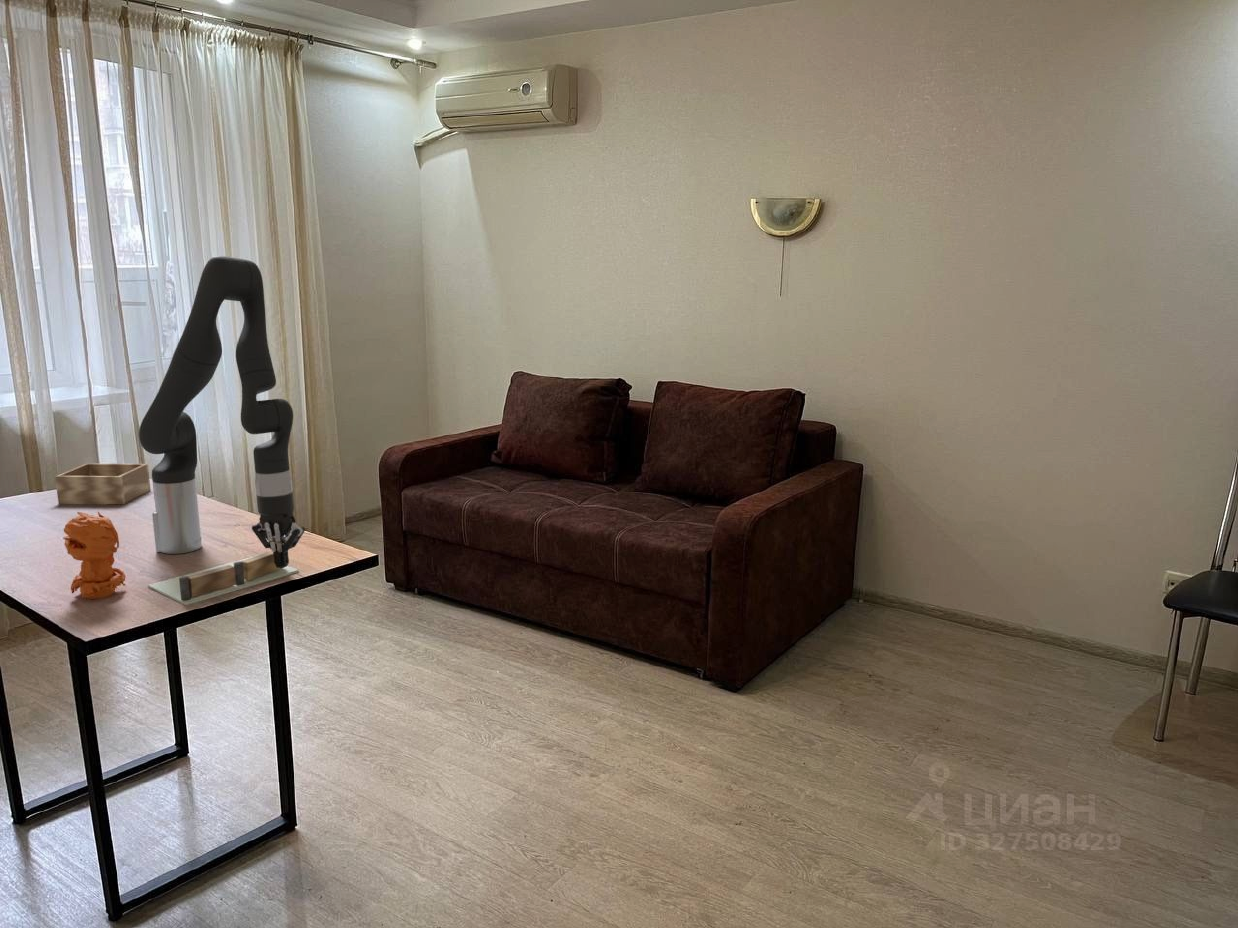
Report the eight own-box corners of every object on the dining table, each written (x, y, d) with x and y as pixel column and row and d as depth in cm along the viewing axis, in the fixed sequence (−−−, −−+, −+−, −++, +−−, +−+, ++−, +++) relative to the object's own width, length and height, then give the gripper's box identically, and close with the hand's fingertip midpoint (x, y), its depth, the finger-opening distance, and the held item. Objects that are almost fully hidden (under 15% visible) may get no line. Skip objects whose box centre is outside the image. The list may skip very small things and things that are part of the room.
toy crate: (58, 504, 259) (54, 476, 258) (89, 489, 275) (86, 463, 273) (123, 504, 260) (120, 477, 258) (150, 490, 275) (147, 463, 273)
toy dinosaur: (83, 584, 199) (73, 504, 195) (136, 583, 200) (126, 503, 196) (57, 604, 188) (45, 519, 184) (113, 603, 189) (102, 518, 185)
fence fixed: (184, 603, 189) (182, 579, 188) (179, 601, 190) (177, 577, 189) (246, 585, 200) (244, 562, 198) (241, 583, 201) (239, 560, 200)
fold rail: (248, 580, 200) (247, 562, 199) (242, 578, 201) (240, 561, 200) (284, 566, 209) (283, 550, 208) (278, 565, 210) (277, 548, 209)
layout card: (185, 605, 188) (185, 602, 188) (148, 587, 198) (147, 584, 198) (298, 571, 208) (298, 569, 208) (259, 556, 218) (259, 554, 218)
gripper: (310, 488, 203) (317, 564, 206) (261, 485, 207) (269, 559, 211) (288, 496, 196) (295, 574, 199) (237, 493, 200) (245, 569, 204)
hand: (281, 566), depth 205 cm, fingers closed
